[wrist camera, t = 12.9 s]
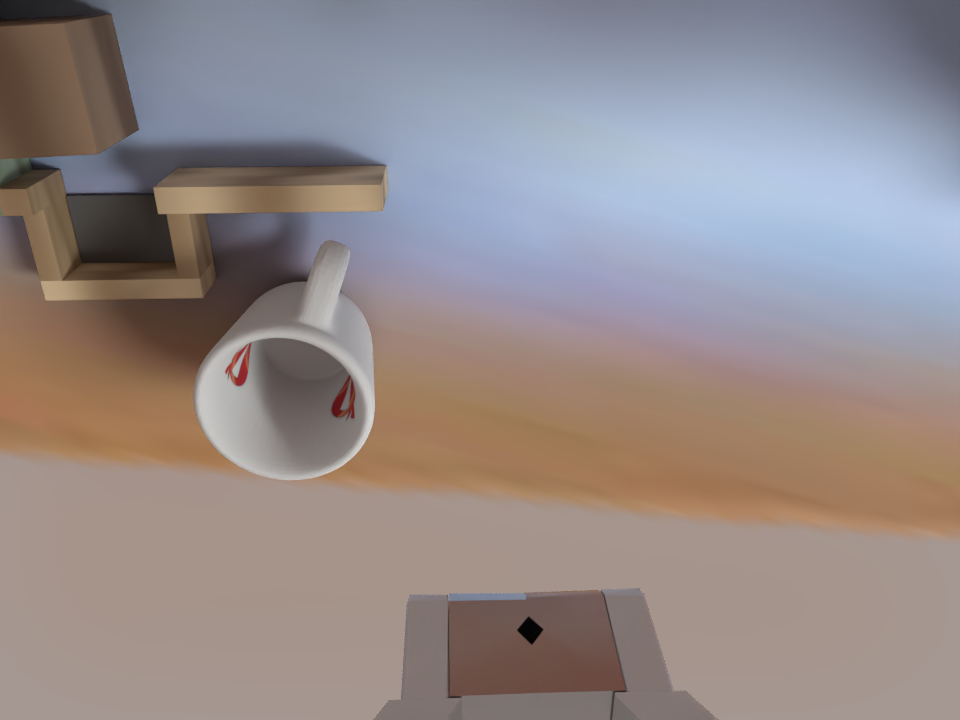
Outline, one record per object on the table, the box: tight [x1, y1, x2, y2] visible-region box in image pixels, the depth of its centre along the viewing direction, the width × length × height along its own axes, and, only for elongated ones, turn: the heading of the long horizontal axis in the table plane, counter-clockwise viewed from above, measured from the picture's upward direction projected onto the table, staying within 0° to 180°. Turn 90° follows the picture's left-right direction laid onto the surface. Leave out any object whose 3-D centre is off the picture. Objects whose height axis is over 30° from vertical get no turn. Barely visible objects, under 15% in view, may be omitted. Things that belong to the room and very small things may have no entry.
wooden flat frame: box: [0, 158, 388, 301], centre depth 35 cm, size 18×19×4 cm
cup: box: [194, 241, 375, 480], centre depth 38 cm, size 11×8×8 cm
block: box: [0, 14, 139, 159], centre depth 34 cm, size 5×5×5 cm
